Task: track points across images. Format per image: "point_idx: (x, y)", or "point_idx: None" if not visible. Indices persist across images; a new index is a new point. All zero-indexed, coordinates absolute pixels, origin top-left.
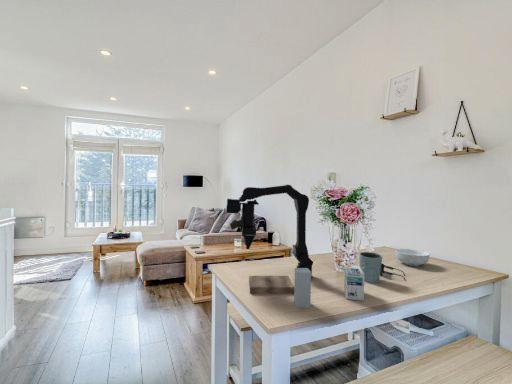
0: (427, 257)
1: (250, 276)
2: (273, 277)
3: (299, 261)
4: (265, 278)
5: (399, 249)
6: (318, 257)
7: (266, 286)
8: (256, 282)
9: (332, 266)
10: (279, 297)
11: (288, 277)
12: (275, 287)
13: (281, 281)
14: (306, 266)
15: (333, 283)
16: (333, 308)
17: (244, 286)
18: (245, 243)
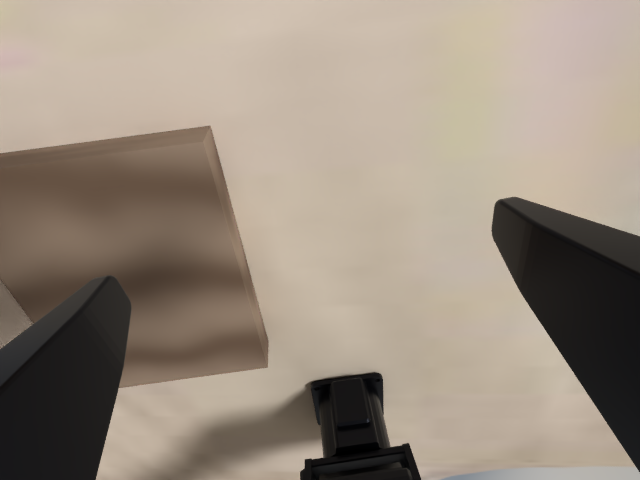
0: None
1: (185, 155)
2: (211, 304)
3: (319, 476)
4: (174, 263)
5: None
6: None
7: (17, 278)
8: (62, 213)
9: (483, 469)
10: (4, 315)
11: (233, 369)
12: (34, 321)
13: (151, 343)
14: (301, 471)
15: (271, 466)
16: None
17: (80, 101)
18: (509, 220)
